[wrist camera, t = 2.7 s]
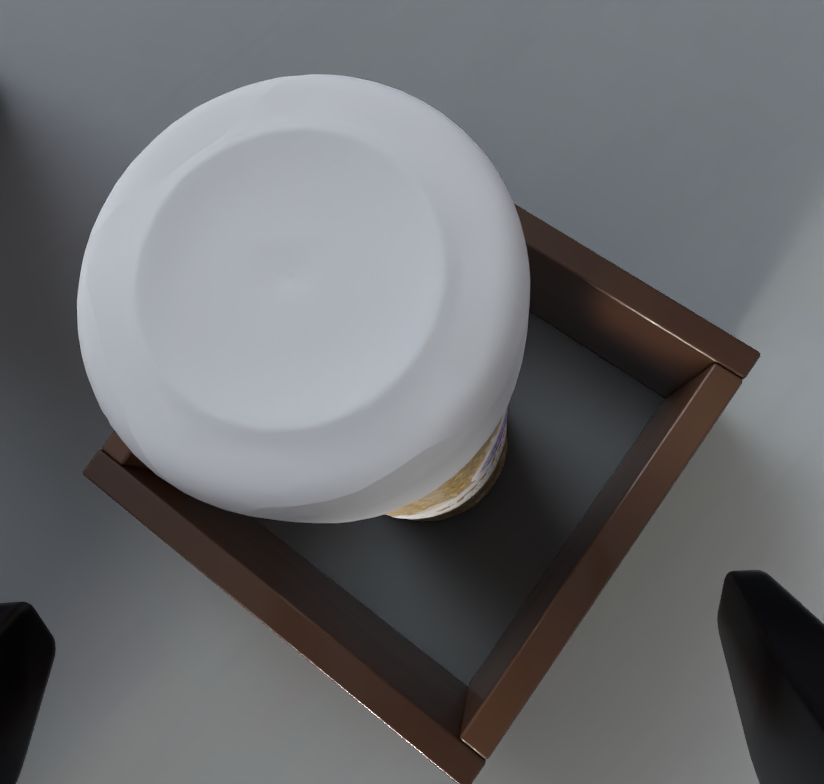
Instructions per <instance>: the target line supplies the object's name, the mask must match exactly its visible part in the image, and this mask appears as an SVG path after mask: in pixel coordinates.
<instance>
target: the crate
mask: <svg viewBox="0 0 824 784" xmlns="http://www.w3.org/2000/svg"><path fill="white" fill-rule="evenodd" d="M514 205H515V204H514ZM515 208H516V211H517V213H518V216H519V219H520V222H521V226H522V230H523V234H524V238H525V242H526V247H527V254H528V260H529V270H530V305H529V311H531V312H532V313H534V314H535V315H537V316H539V317H540V318H542V319H543V320H545V321H546V322H548V323H549V324H551V325H553V326H554V327H556V328H557V329H559V330H560V331H562V332H564V333H565V334H567V335H568V336H570V337H571V338H573V339H575V340H576V341H578V342H579V343H581V344H582V345H584V346H585V347H587V348H589V349H590V350H592V351H593V352H595V353H596V354H598V355H600V356H601V357H603V358H604V359H606V360H607V361H609V362H610V363H612V364H614V365H615V366H617V367H618V368H620V369H621V370H623V371H625V372H626V373H628V374H629V375H631V376H632V377H634V378H635V379H637V380H639V381H640V382H642V383H643V384H645V385H646V386H648V387H650V388H651V389H653V390H654V391H656V392H657V393H659V394H661V395H662V396H664V397H665V399H664V400H663V401H662V403H661V404H660V406H659V407H658V409H657V410H656V412H655V413H654V415H653V416H652V418H651V419H650V420H649V422H648V423H647V425H646V426H645V428H644V429H643V431H642V432H641V434H640V435H639V437H638V438H637V439H636V441H635V442H634V444H633V445H632V447H631V448H630V450H629V451H628V453H627V454H626V456H625V457H624V458H623V460H622V461H621V463H620V464H619V466H618V467H617V469H616V470H615V472H614V473H613V474H612V476H611V477H610V479H609V480H608V482H607V483H606V485H605V486H604V488H603V489H602V491H601V492H600V493H599V495H598V496H597V498H596V499H595V501H594V502H593V504H592V505H591V507H590V508H589V510H588V511H587V512H586V514H585V515H584V517H583V518H582V520H581V521H580V523H579V524H578V526H577V527H576V529H575V530H574V531H573V533H572V534H571V536H570V537H569V539H568V540H567V542H566V543H565V545H564V546H563V548H562V549H561V550H560V552H559V553H558V555H557V556H556V558H555V559H554V561H553V562H552V564H551V565H550V566H549V568H548V569H547V571H546V572H545V574H544V575H543V577H542V578H541V580H540V581H539V583H538V584H537V585H536V587H535V588H534V590H533V591H532V593H531V594H530V596H529V597H528V599H527V600H526V602H525V603H524V604H523V606H522V607H521V609H520V610H519V612H518V613H517V615H516V616H515V618H514V619H513V621H512V622H511V623H510V625H509V626H508V628H507V629H506V631H505V632H504V634H503V635H502V637H501V638H500V639H499V641H498V642H497V644H496V645H495V647H494V648H493V650H492V651H491V653H490V654H489V656H488V657H487V658H486V660H485V661H484V663H483V664H482V666H481V667H480V669H479V670H478V672H477V673H476V675H475V676H474V677H473V679H472V680H471V682H470V683H469V686H468V687H467V686H466V685H464V684H463V683H462V682H461V681H459V680H458V679H457V678H456V677H454V676H453V675H452V674H450V673H449V672H448V671H447V670H445V669H444V668H443V667H442V666H440V665H439V664H438V663H436V662H435V661H434V660H433V659H431V658H430V657H429V656H428V655H426V654H425V653H424V652H423V651H421V650H420V649H419V648H417V647H416V646H415V645H414V644H412V643H411V642H410V641H409V640H407V639H406V638H405V637H403V636H402V635H401V634H400V633H398V632H397V631H396V630H395V629H393V628H392V627H391V626H390V625H388V624H387V623H386V622H384V621H383V620H382V619H381V618H379V617H378V616H377V615H376V614H374V613H373V612H372V611H370V610H369V609H368V608H367V607H365V606H364V605H363V604H362V603H360V602H359V601H358V600H357V599H355V598H354V597H353V596H351V595H350V594H349V593H348V592H346V591H345V590H344V589H343V588H341V587H340V586H339V585H338V584H336V583H335V582H334V581H332V580H331V579H330V578H329V577H327V576H326V575H325V574H324V573H322V572H321V571H320V570H318V569H317V568H316V567H315V566H313V565H312V564H311V563H310V562H308V561H307V560H306V559H305V558H303V557H302V556H301V555H299V554H298V553H297V552H296V551H294V550H293V549H292V548H291V547H289V546H288V545H287V544H285V543H284V542H283V541H282V540H280V539H279V538H278V537H277V536H275V535H274V534H273V533H272V532H270V531H269V530H268V529H266V528H265V527H264V526H263V525H261V524H260V523H259V522H258V521H256V520H255V519H254V518H252V517H251V516H247V515H243V514H239V513H235V512H231V511H227V510H224V509H221V508H218V507H216V506H213V505H210V504H208V503H205V502H203V501H200V500H198V499H196V498H194V497H192V496H190V495H188V494H185V493H184V492H182V491H180V490H179V489H177V488H176V487H174V486H173V485H171V484H170V483H168V482H167V481H165V480H163V479H162V478H160V477H159V476H157V475H156V474H155V473H154V472H153V471H152V470H151V469H149V468H148V467H147V466H146V465H145V464H144V463H143V462H142V461H141V460H139V459H138V458H137V457H136V456H135V455H134V454H133V453H132V452H131V450H130V449H129V448H128V447H127V446H126V444H125V443H124V442H123V441H122V439H121V438H120V437H119V435H118V434H117V433H116V431H114V432H113V433H112V435H111V436H110V437H109V439H108V440H107V441H106V443H105V444H104V445H103V447H102V449H103V450H99V451H98V453H97V454H96V455H95V456H94V458H93V459H92V460H91V462H90V463H89V464H88V466H87V467H86V468H85V470H84V471H83V475H84V476H85V477H87V478H88V479H89V480H90V481H91V482H93V483H94V484H95V485H96V486H98V487H99V488H100V489H101V490H102V491H104V492H105V493H106V494H107V495H108V496H110V497H111V498H112V499H113V500H114V501H116V502H117V503H118V504H119V505H121V506H122V507H123V508H124V509H125V510H127V511H128V512H129V513H130V514H131V515H133V516H134V517H135V518H136V519H138V520H139V521H140V522H141V523H142V524H144V525H145V526H146V527H147V528H148V529H150V530H151V531H152V532H153V533H154V534H156V535H157V536H158V537H159V538H161V539H162V540H163V541H164V542H165V543H167V544H168V545H169V546H170V547H171V548H173V549H174V550H175V551H176V552H177V553H179V554H180V555H181V556H182V557H184V558H185V559H186V560H187V561H188V562H190V563H191V564H192V565H193V566H194V567H196V568H197V569H198V570H199V571H200V572H202V573H203V574H204V575H205V576H207V577H208V578H209V579H210V580H211V581H213V582H214V583H215V584H216V585H217V586H219V587H220V588H221V589H222V590H224V591H225V592H226V593H227V594H228V595H230V596H231V597H232V598H233V599H234V600H236V601H237V602H238V603H239V604H240V605H242V606H243V607H244V608H245V609H247V610H248V611H249V612H250V613H251V614H253V615H254V616H255V617H256V618H257V619H259V620H260V621H261V622H262V623H263V624H265V625H266V626H267V627H268V628H270V629H271V630H272V631H273V632H274V633H276V634H277V635H278V636H279V637H280V638H282V639H283V640H284V641H285V642H286V643H288V644H289V645H290V646H291V647H293V648H294V649H295V650H296V651H297V652H299V653H300V654H301V655H302V656H303V657H305V658H306V659H307V660H308V661H310V662H311V663H312V664H313V665H314V666H316V667H317V668H318V669H319V670H320V671H322V672H323V673H324V674H325V675H326V676H328V677H329V678H330V679H331V680H333V681H334V682H335V683H336V684H337V685H339V686H340V687H341V688H342V689H343V690H345V691H346V692H347V693H348V694H349V695H351V696H352V697H353V698H354V699H356V700H357V701H358V702H359V703H360V704H362V705H363V706H364V707H365V708H366V709H368V710H369V711H370V712H371V713H372V714H374V715H375V716H376V717H377V718H379V719H380V720H381V721H382V722H383V723H385V724H386V725H387V726H388V727H389V728H391V729H392V730H393V731H394V732H395V733H397V734H398V735H399V736H400V737H402V738H403V739H404V740H405V741H406V742H408V743H409V744H410V745H411V746H412V747H414V748H415V749H416V750H417V751H419V752H420V753H421V754H422V755H423V756H425V757H426V758H427V759H428V760H429V761H431V762H432V763H433V764H434V765H435V766H437V767H438V768H439V769H440V770H442V771H443V772H444V773H445V774H446V775H448V776H449V777H450V778H451V779H452V780H454V781H455V782H456V783H457V784H472V782H473V781H474V779H475V778H476V776H477V775H478V773H479V772H480V771H481V769H482V768H483V766H484V765H485V762H486V759H488V758H489V757H490V756H491V754H492V753H493V751H494V750H495V748H496V747H497V745H498V744H499V742H500V741H501V739H502V738H503V736H504V735H505V733H506V732H507V730H508V729H509V727H510V726H511V724H512V723H513V721H514V720H515V719H516V717H517V716H518V714H519V713H520V711H521V710H522V708H523V707H524V705H525V704H526V702H527V701H528V699H529V698H530V696H531V695H532V693H533V692H534V690H535V689H536V687H537V686H538V684H539V683H540V681H541V680H542V679H543V677H544V676H545V674H546V673H547V671H548V670H549V668H550V667H551V665H552V664H553V662H554V661H555V659H556V658H557V656H558V655H559V653H560V652H561V650H562V649H563V647H564V646H565V644H566V643H567V642H568V640H569V639H570V637H571V636H572V634H573V633H574V631H575V630H576V628H577V627H578V625H579V624H580V622H581V621H582V619H583V618H584V616H585V615H586V613H587V612H588V610H589V609H590V607H591V606H592V605H593V603H594V602H595V600H596V599H597V597H598V596H599V594H600V593H601V591H602V590H603V588H604V587H605V585H606V584H607V582H608V581H609V579H610V578H611V576H612V575H613V573H614V572H615V570H616V569H617V567H618V566H619V565H620V563H621V562H622V560H623V559H624V557H625V556H626V554H627V553H628V551H629V550H630V548H631V547H632V545H633V544H634V542H635V541H636V539H637V538H638V536H639V535H640V533H641V532H642V530H643V529H644V528H645V526H646V525H647V523H648V522H649V520H650V519H651V517H652V516H653V514H654V513H655V511H656V510H657V508H658V507H659V505H660V504H661V502H662V501H663V499H664V498H665V496H666V495H667V493H668V492H669V490H670V489H671V488H672V486H673V485H674V483H675V482H676V480H677V479H678V477H679V476H680V474H681V473H682V471H683V470H684V468H685V467H686V465H687V464H688V462H689V461H690V459H691V458H692V456H693V455H694V453H695V452H696V451H697V449H698V448H699V446H700V445H701V443H702V442H703V440H704V439H705V437H706V436H707V434H708V433H709V431H710V430H711V428H712V427H713V425H714V424H715V422H716V421H717V419H718V418H719V416H720V415H721V414H722V412H723V411H724V409H725V408H726V406H727V405H728V403H729V402H730V400H731V399H732V397H733V396H734V394H735V393H736V391H737V390H738V388H739V387H740V385H741V384H742V379H744V378H746V376H747V375H748V373H749V372H750V370H751V369H752V368H753V366H754V365H755V363H756V362H757V360H758V359H759V357H760V353H759V352H758V351H757V350H755V349H753V348H752V347H750V346H748V345H747V344H745V343H743V342H742V341H740V340H738V339H737V338H735V337H733V336H732V335H730V334H729V333H727V332H725V331H724V330H722V329H720V328H719V327H717V326H715V325H714V324H712V323H710V322H709V321H707V320H705V319H704V318H702V317H700V316H699V315H697V314H695V313H694V312H692V311H691V310H689V309H687V308H686V307H684V306H682V305H681V304H679V303H677V302H676V301H674V300H672V299H671V298H669V297H667V296H666V295H664V294H662V293H661V292H659V291H657V290H656V289H654V288H653V287H651V286H649V285H648V284H646V283H644V282H643V281H641V280H639V279H638V278H636V277H634V276H633V275H631V274H629V273H628V272H626V271H624V270H623V269H621V268H620V267H618V266H616V265H615V264H613V263H611V262H610V261H608V260H606V259H605V258H603V257H601V256H600V255H598V254H596V253H595V252H593V251H591V250H590V249H588V248H586V247H585V246H583V245H582V244H580V243H578V242H577V241H575V240H573V239H572V238H570V237H568V236H567V235H565V234H563V233H562V232H560V231H558V230H557V229H555V228H553V227H552V226H550V225H548V224H547V223H545V222H544V221H542V220H540V219H539V218H537V217H535V216H534V215H532V214H530V213H529V212H527V211H525V210H524V209H522V208H520V207H519V206H517V205H515Z"/></svg>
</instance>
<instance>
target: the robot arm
mask: <svg viewBox="0 0 824 784" xmlns="http://www.w3.org/2000/svg"><path fill="white" fill-rule="evenodd" d="M717 621H718V630H719V635H720V639H721V643H722V647H723V651H724V655H725V659H726V663H727V666H728V670H729V674H730V678H731V682H732V686H733V690H734V694H735V698H736V702H737V706H738V710H739V714H740V718H741V722H742V726H743V730H744V734H745V738H746V741H747V745H748V749H749V752H750V756H751V760H752V762H753V765H754V768H755V771H756V774H757V777H758V780H759V783H760V784H824V624H823V623H822V622H821V621H820V620H819V619H818V618H816V617H815V616H814V615H813V614H812V613H811V612H810V611H809V610H808V609H807V608H805V607H804V606H803V605H802V604H801V603H800V602H799V601H798V600H797V599H795V598H794V597H793V596H792V595H791V594H790V593H789V592H788V591H787V590H785V589H784V588H783V587H782V586H781V585H780V584H779V583H778V582H777V581H776V580H774V579H773V578H772V577H771V576H770V575H769V574H767V573H765V572H763V571H761V570H745V571H731V572H729V573H728V574H727V575H726V577H725V580H724V584H723V589H722V594H721V599H720V604H719V610H718V617H717ZM55 650H56V647H55V640H54V638H53V636H52V634H51V633H50V631H49V630H48V628H47V627H46V625H45V624H44V622H43V621H42V619H41V618H40V616H39V615H38V613H37V612H36V610H35V609H34V607H33V606H32V605H31V604H29V603H27V602H9V603H0V784H16V782H17V780H18V777H19V774H20V772H21V769H22V766H23V762H24V759H25V756H26V753H27V750H28V747H29V743H30V740H31V736H32V733H33V730H34V726H35V723H36V719H37V716H38V712H39V709H40V706H41V702H42V699H43V695H44V692H45V689H46V685H47V682H48V678H49V675H50V671H51V668H52V665H53V661H54V657H55Z"/></svg>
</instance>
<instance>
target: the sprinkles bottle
mask: <svg viewBox="0 0 824 784" xmlns="http://www.w3.org/2000/svg"><path fill="white" fill-rule="evenodd" d="M529 305H530V270H529V260H528V254H527V247H526V242H525V238H524V234H523V230H522V226H521V222H520V219H519V216H518V213H517V211H516V208H515V205H514V202H513V200H512V198H511V196H510V194H509V192H508V189H507V187H506V186H505V184H504V182H503V180H502V178H501V177H500V175H499V173H498V171H497V170H496V168H495V167H494V165H493V164H492V162H491V161H490V159H489V158H488V157H487V155H486V154H485V153H484V152H483V151H482V150H481V148H480V147H479V146H478V145H477V144H476V143H475V142H474V141H473V140H472V139H471V138H470V137H469V136H468V135H467V134H466V133H465V132H464V131H463V130H462V129H461V128H460V127H459V126H458V125H456V124H455V123H454V122H453V121H451V120H450V119H449V118H447V117H446V116H445V115H444V114H442V113H441V112H440V111H438V110H436V109H435V108H433V107H432V106H430V105H429V104H427V103H425V102H424V101H421V100H419V99H417V98H415V97H413V96H411V95H409V94H407V93H405V92H403V91H400V90H398V89H395V88H392V87H389V86H386V85H383V84H380V83H377V82H373V81H368V80H364V79H359V78H354V77H349V76H340V75H324V74H310V75H299V76H287V77H279V78H275V79H270V80H266V81H262V82H257V83H254V84H250V85H247V86H244V87H241V88H238V89H236V90H233V91H231V92H228V93H226V94H223V95H221V96H218V97H216V98H214V99H212V100H210V101H208V102H206V103H204V104H202V105H200V106H198V107H196V108H195V109H193V110H192V111H190V112H189V113H187V114H186V115H184V116H183V117H181V118H180V119H178V120H177V121H175V122H174V123H172V124H171V125H170V126H169V127H168V128H166V129H165V130H164V131H163V132H162V133H161V134H159V135H158V136H157V137H156V138H155V139H154V140H153V141H152V142H151V143H150V144H149V145H148V146H147V147H146V148H145V149H144V150H143V151H142V152H141V153H140V154H139V155H138V156H137V157H136V158H135V160H134V161H133V162H132V163H131V164H130V165H129V166H128V168H127V169H126V171H125V172H124V173H123V175H122V176H121V177H120V179H119V180H118V181H117V183H116V184H115V186H114V188H113V189H112V191H111V193H110V195H109V197H108V198H107V200H106V202H105V204H104V205H103V207H102V209H101V211H100V213H99V215H98V218H97V220H96V222H95V224H94V227H93V229H92V231H91V234H90V237H89V240H88V244H87V247H86V250H85V254H84V258H83V262H82V267H81V273H80V279H79V287H78V296H77V324H78V335H79V342H80V348H81V355H82V359H83V362H84V366H85V370H86V374H87V376H88V379H89V382H90V384H91V387H92V389H93V392H94V394H95V397H96V399H97V401H98V403H99V405H100V408H101V410H102V412H103V413H104V414H105V416H106V417H107V418H108V420H109V423H110V425H111V426H112V427H113V429H114V430H115V431H116V433H117V434H118V435H119V437H120V438H121V439H122V441H123V442H124V443H125V444H126V446H127V447H128V448H129V449H130V450H131V452H132V453H133V454H134V455H135V456H136V457H137V458H138V459H139V460H141V461H142V462H143V463H144V464H145V465H146V466H147V467H148V468H149V469H151V470H152V471H153V472H154V473H155V474H156V475H157V476H159V477H160V478H162V479H163V480H165V481H167V482H168V483H170V484H171V485H173V486H174V487H176V488H177V489H179V490H180V491H182V492H184V493H185V494H188V495H190V496H192V497H194V498H196V499H198V500H200V501H203V502H205V503H208V504H210V505H213V506H216V507H218V508H221V509H224V510H227V511H231V512H235V513H239V514H243V515H247V516H252V517H259V518H266V519H273V520H281V521H290V522H306V523H344V522H353V521H358V520H363V519H368V518H373V517H377V516H380V515H390V516H392V517H394V518H402V519H409V520H414V521H439V520H444V519H446V518H448V517H452V516H455V515H458V514H460V513H463V512H465V511H467V510H469V509H471V508H472V507H473V506H475V505H476V504H477V503H478V502H479V501H480V500H481V499H482V498H483V497H484V496H485V495H486V494H487V493H488V492H489V491H490V489H491V488H492V486H493V485H494V483H495V482H496V480H497V478H498V477H499V475H500V473H501V472H502V469H503V466H504V461H505V456H506V453H507V414H508V404H509V401H510V399H511V396H512V394H513V391H514V389H515V385H516V382H517V379H518V375H519V372H520V369H521V365H522V360H523V355H524V349H525V344H526V338H527V328H528V317H529Z"/></svg>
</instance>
